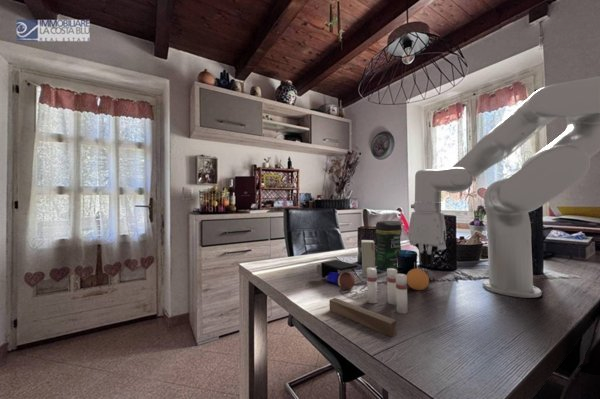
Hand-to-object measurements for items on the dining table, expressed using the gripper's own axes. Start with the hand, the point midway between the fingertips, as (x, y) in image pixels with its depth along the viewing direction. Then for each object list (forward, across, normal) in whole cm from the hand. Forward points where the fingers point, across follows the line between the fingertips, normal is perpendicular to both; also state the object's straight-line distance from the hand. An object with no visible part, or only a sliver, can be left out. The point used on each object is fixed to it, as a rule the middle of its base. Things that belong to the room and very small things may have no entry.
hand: (426, 265), depth 78 cm
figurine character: (+7, -19, -22) cm, 30 cm away
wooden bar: (+6, +1, -37) cm, 37 cm away
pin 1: (+6, -3, -26) cm, 27 cm away
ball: (+2, +1, -9) cm, 9 cm away
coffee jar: (+6, -17, +7) cm, 19 cm away
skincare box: (+6, -17, -7) cm, 19 cm away
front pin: (+6, +1, -23) cm, 24 cm away
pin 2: (+6, +5, -26) cm, 27 cm away
